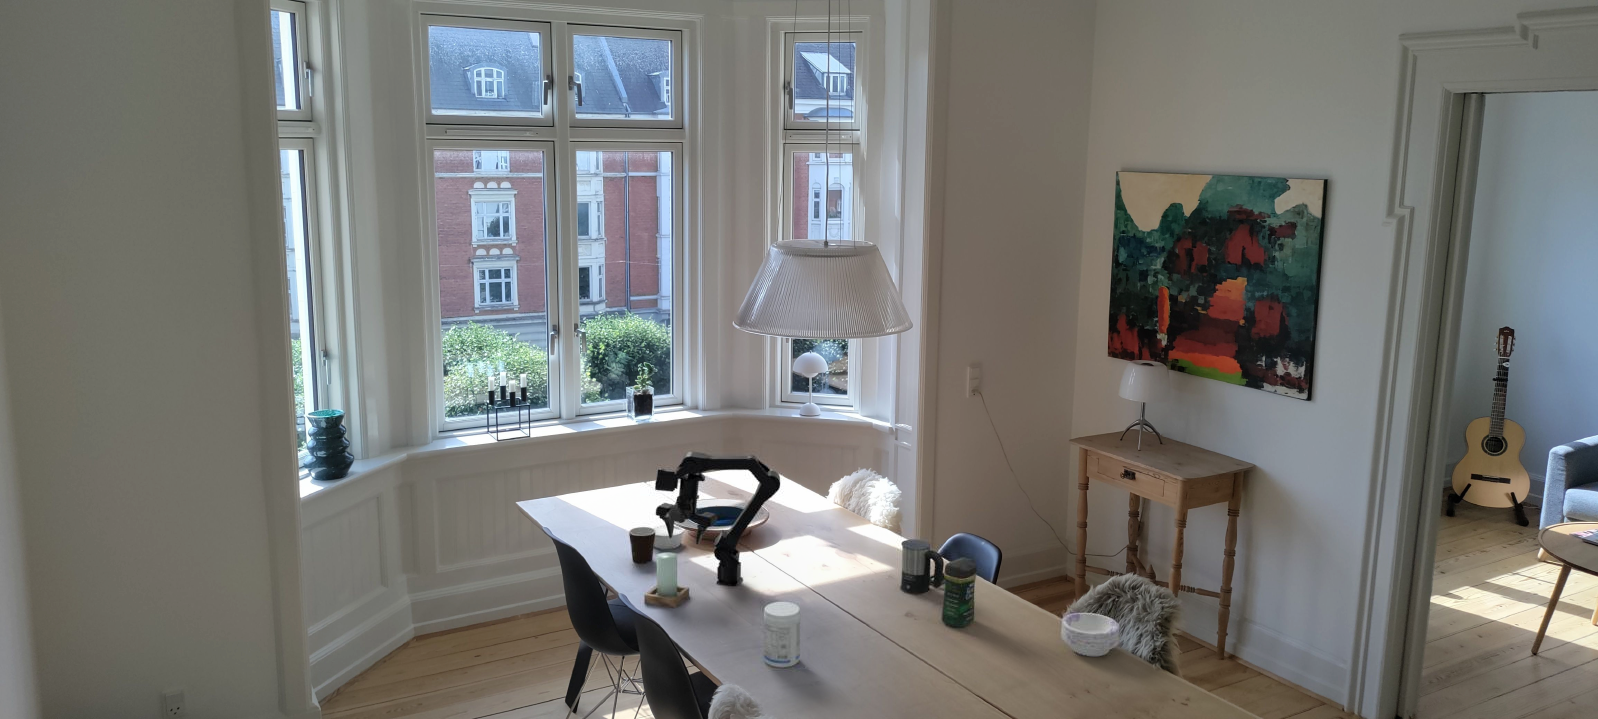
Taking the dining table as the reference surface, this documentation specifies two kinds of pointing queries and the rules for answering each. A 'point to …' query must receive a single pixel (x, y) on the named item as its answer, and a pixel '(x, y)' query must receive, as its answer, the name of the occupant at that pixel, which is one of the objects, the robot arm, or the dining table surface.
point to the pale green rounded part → (667, 574)
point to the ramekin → (667, 537)
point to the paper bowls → (1090, 633)
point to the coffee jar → (959, 592)
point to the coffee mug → (642, 544)
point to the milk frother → (920, 567)
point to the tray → (672, 602)
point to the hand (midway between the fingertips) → (684, 540)
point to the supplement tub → (781, 634)
